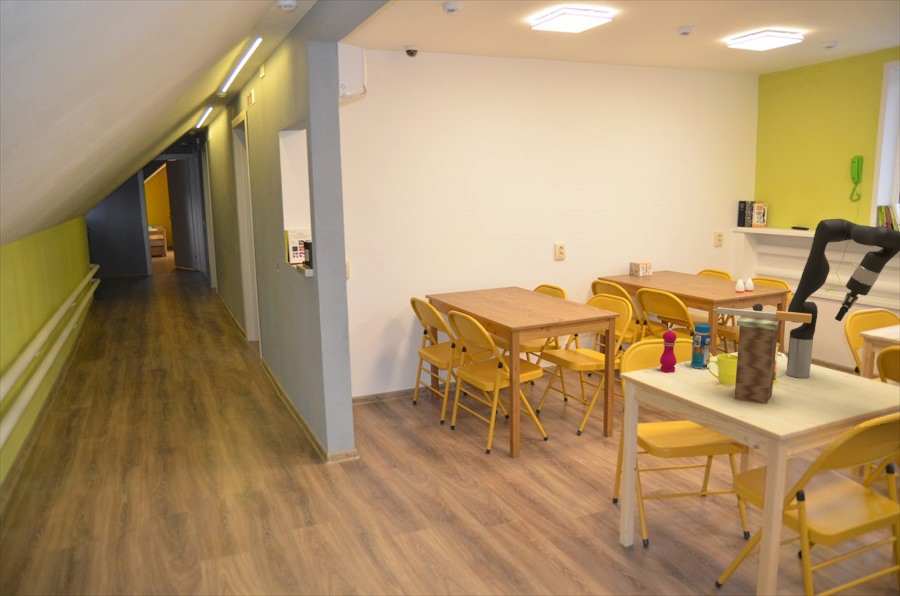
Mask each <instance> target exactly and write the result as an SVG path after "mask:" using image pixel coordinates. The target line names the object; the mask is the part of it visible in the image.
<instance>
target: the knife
mask: <svg viewBox="0 0 900 596" xmlns="http://www.w3.org/2000/svg"><path fill="white" fill-rule="evenodd" d="M712 312H716V314H718V315H727V316H728V315H729V316H738V317H741V316H746V317H756V318H766V319H776V320H782V321H785V322H791V321H793V322H792V323H798V322H803V323H811V318H812V314H805V313H794V312H788V311H782V310H777V311H776V312H769V311H764V312H761V311H754V310H750V309H747V310H746V309H738V308H727V307H719V306H718V307H717V308H713V309H712ZM803 323H802V324H803Z"/></svg>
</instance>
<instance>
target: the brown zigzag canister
mask: <svg viewBox="0 0 900 596" xmlns="http://www.w3.org/2000/svg"><path fill="white" fill-rule="evenodd" d="M782 321H783V320H776V319H766V318H756V317H746V316H739V318H738V319H737V320H736V326H738V327H739V335H738V345H737V359H736V372H735V386H734V395H733V396H734V397H733V398H734V399H735V400H741V401H747V402H752V401H753V403H758V402H759V403H758V404H764V403H765V404H766V405H768V404H767V403H769V402H768V401H770V400H771V397H772V396H773V388H774V376H775V365H776V354H777V353H776V352H777V342H778V341H777V340H778V331H779V326H780V325H781V324H782ZM765 404H764V405H765Z"/></svg>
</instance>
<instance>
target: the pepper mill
mask: <svg viewBox="0 0 900 596" xmlns="http://www.w3.org/2000/svg"><path fill="white" fill-rule="evenodd" d="M662 340H663V348H664V349H663V353H662V354H661V356H660V359H659V363H660V371H661V372H664V373H668V372H672V373H675V371H676V367H675V366H676V365H677V357H676V355H675V351H674V348H675V346H676V340H677V334H676V333H675V332H674V331H673V329H672V328H671V327H668V328H667V331H665V332H664V333H663V334H662Z"/></svg>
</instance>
